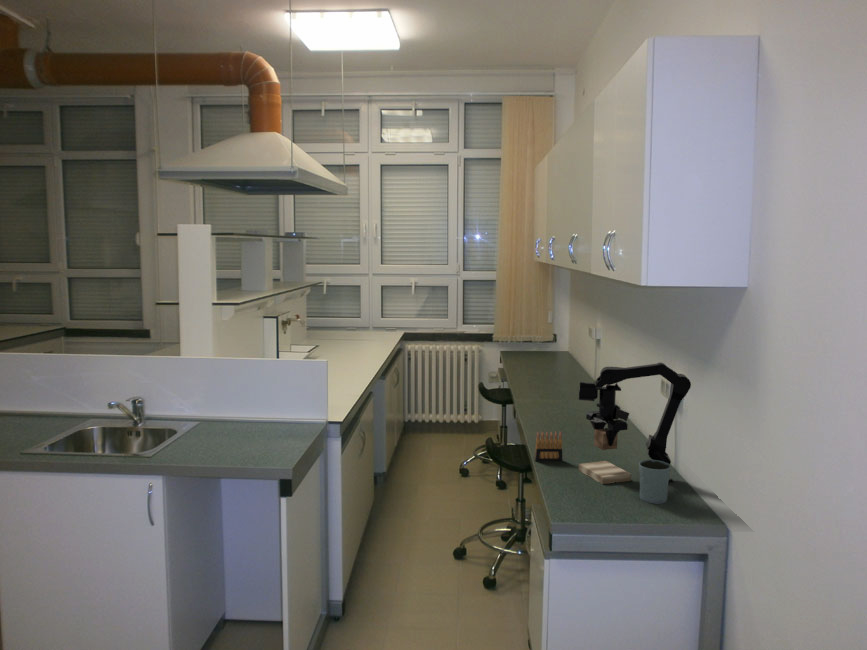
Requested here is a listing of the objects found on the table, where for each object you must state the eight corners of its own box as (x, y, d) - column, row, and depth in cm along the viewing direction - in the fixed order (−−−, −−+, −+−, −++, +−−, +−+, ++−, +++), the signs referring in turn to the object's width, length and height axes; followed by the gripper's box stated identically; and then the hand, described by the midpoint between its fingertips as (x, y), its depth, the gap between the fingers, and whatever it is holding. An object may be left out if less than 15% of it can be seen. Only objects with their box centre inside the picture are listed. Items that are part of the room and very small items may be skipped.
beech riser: (631, 480, 244) (631, 473, 244) (602, 484, 240) (602, 477, 240) (605, 467, 259) (606, 460, 259) (578, 470, 255) (578, 463, 255)
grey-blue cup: (662, 493, 231) (664, 459, 230) (674, 504, 221) (675, 469, 220) (633, 493, 231) (634, 459, 229) (643, 505, 221) (645, 469, 219)
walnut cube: (617, 448, 247) (617, 432, 246) (602, 449, 245) (603, 433, 244) (607, 444, 252) (608, 428, 252) (593, 445, 250) (594, 429, 250)
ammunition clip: (535, 461, 266) (536, 431, 264) (534, 460, 267) (535, 430, 266) (562, 461, 266) (563, 431, 265) (561, 460, 268) (562, 430, 266)
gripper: (641, 406, 241) (639, 448, 242) (611, 395, 258) (610, 435, 260) (614, 407, 237) (612, 451, 239) (586, 396, 255) (584, 437, 256)
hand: (605, 443), depth 248 cm, fingers closed on walnut cube, 6 cm apart
